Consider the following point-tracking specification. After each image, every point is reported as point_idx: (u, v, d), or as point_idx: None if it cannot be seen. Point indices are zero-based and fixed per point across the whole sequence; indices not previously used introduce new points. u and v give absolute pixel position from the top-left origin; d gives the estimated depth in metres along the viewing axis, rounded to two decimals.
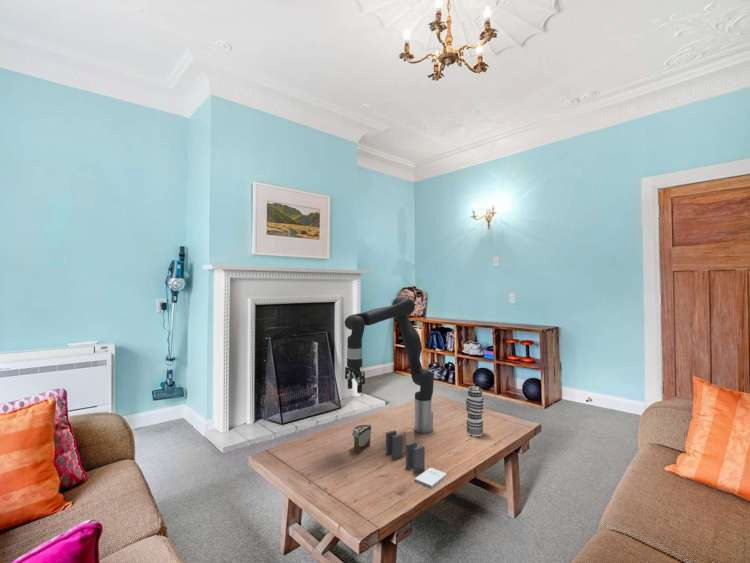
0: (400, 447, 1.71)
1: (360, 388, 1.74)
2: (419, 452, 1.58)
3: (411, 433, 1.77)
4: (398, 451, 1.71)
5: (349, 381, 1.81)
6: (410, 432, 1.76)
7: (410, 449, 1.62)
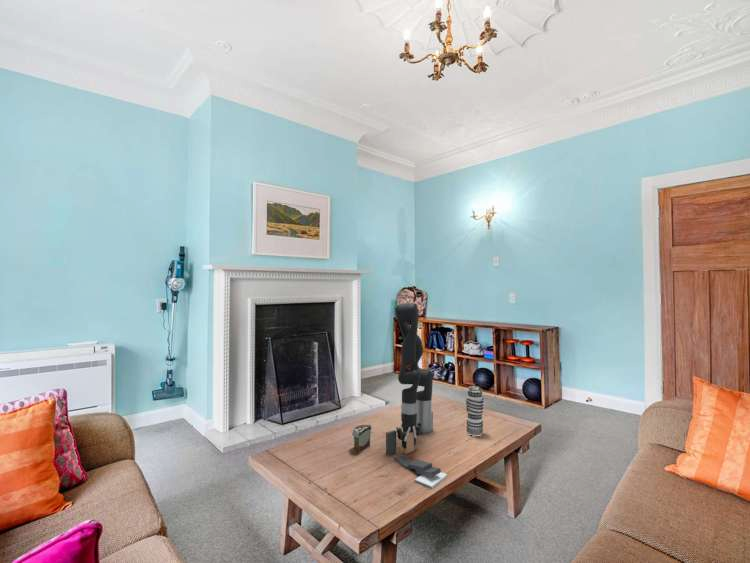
0: None
1: None
2: None
3: (411, 433, 1.77)
4: None
5: None
6: (410, 432, 1.76)
7: None
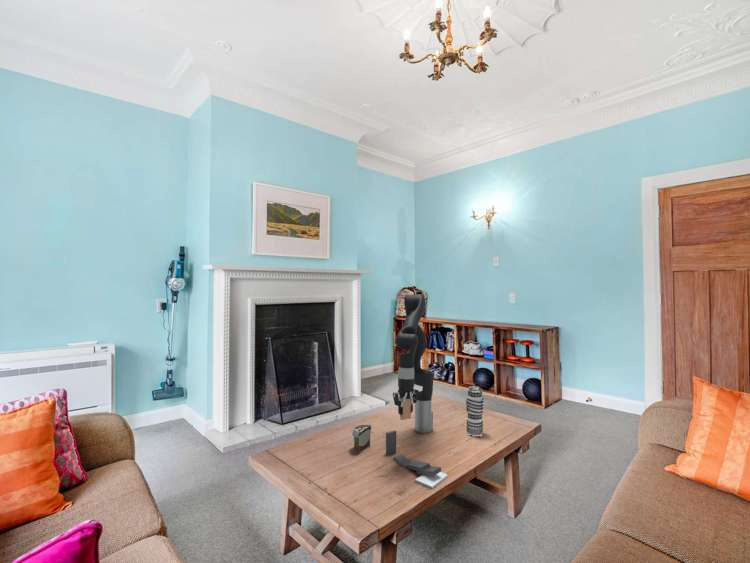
0: None
1: None
2: None
3: (408, 399, 1.71)
4: None
5: None
6: None
7: None
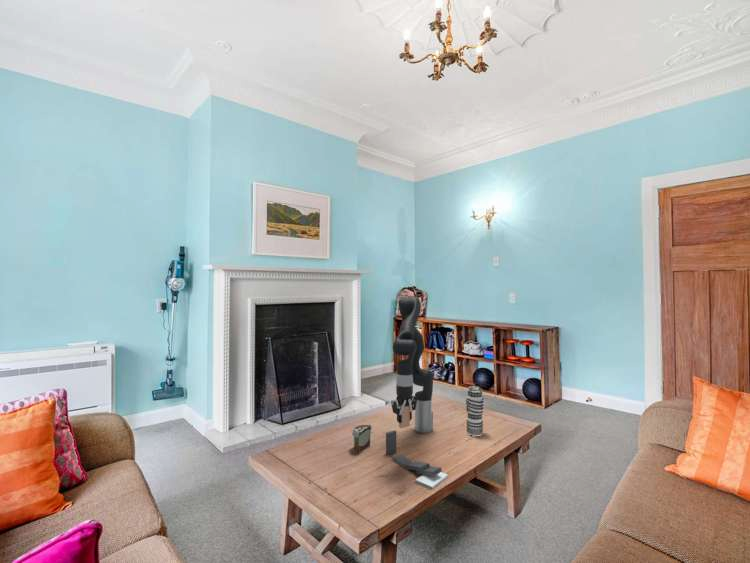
0: None
1: None
2: None
3: (407, 407, 1.67)
4: None
5: None
6: (406, 406, 1.67)
7: None
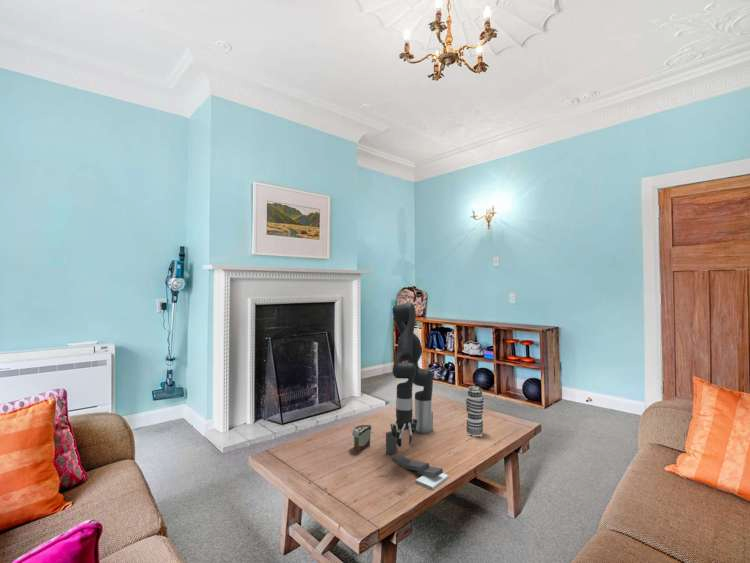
0: None
1: None
2: None
3: (406, 430, 1.67)
4: None
5: None
6: None
7: None
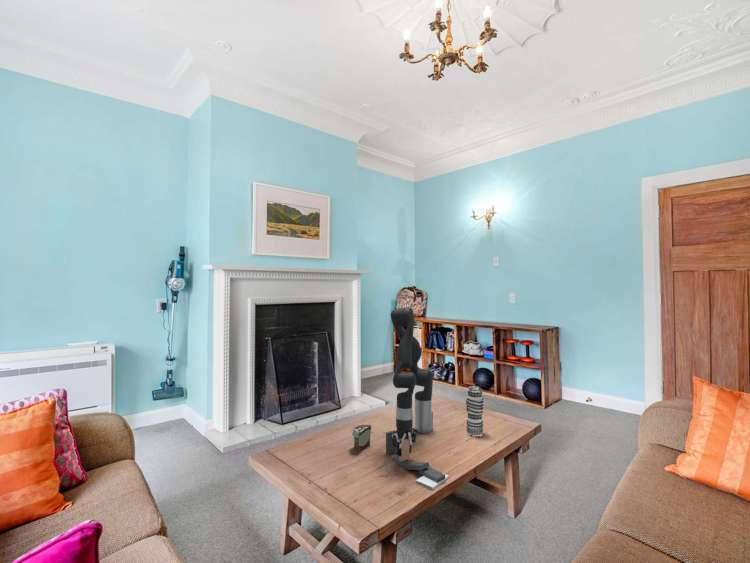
0: None
1: None
2: None
3: (406, 440, 1.67)
4: None
5: None
6: (405, 439, 1.67)
7: None
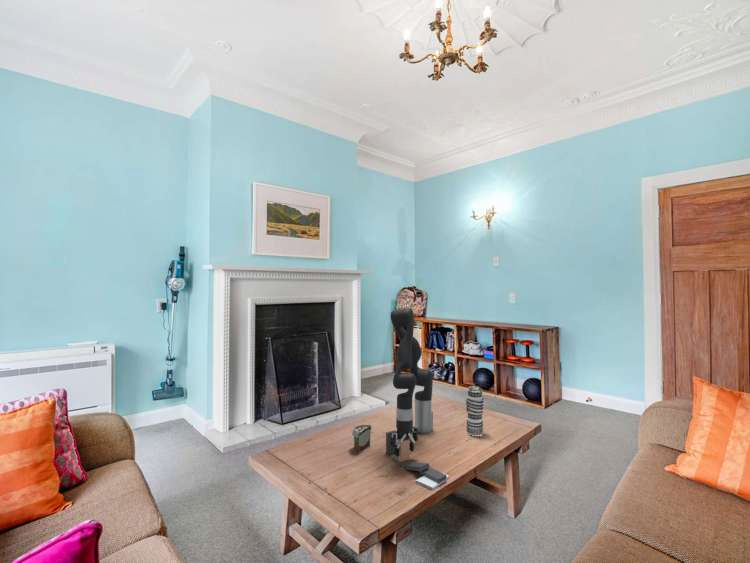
0: None
1: None
2: None
3: (406, 440, 1.67)
4: None
5: None
6: None
7: None
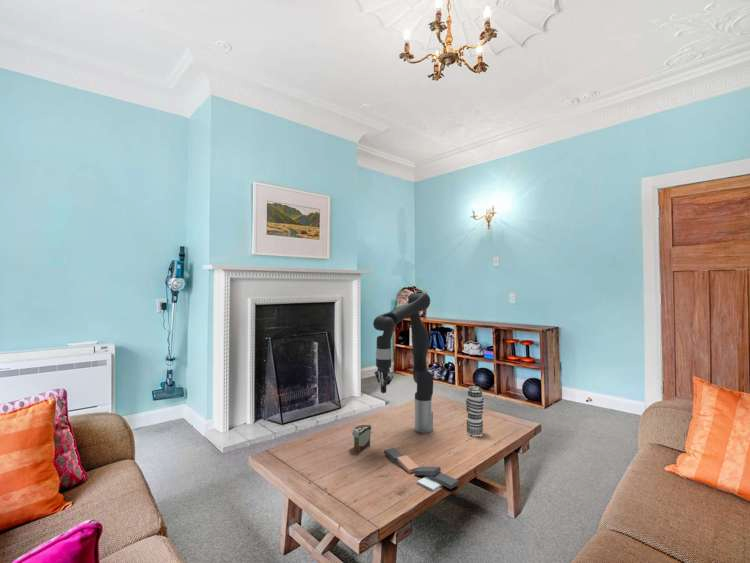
0: None
1: None
2: None
3: None
4: None
5: None
6: None
7: None
